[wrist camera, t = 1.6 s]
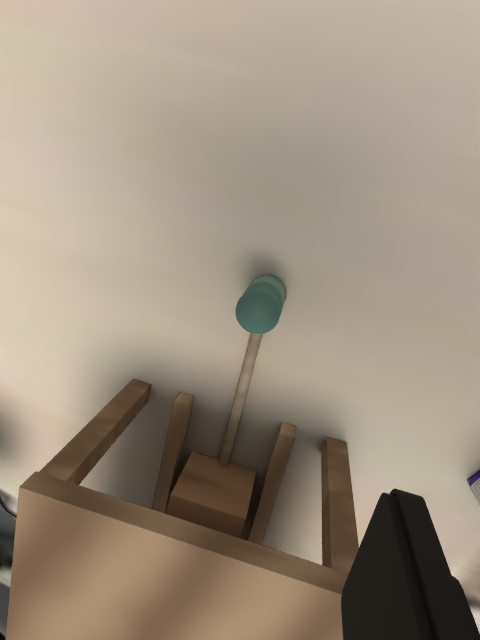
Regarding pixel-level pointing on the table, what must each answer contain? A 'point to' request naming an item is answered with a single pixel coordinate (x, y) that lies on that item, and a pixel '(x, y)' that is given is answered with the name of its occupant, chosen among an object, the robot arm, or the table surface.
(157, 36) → the table surface
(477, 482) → the supplement box
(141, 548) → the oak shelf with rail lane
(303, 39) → the table surface
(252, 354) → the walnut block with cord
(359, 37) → the table surface
